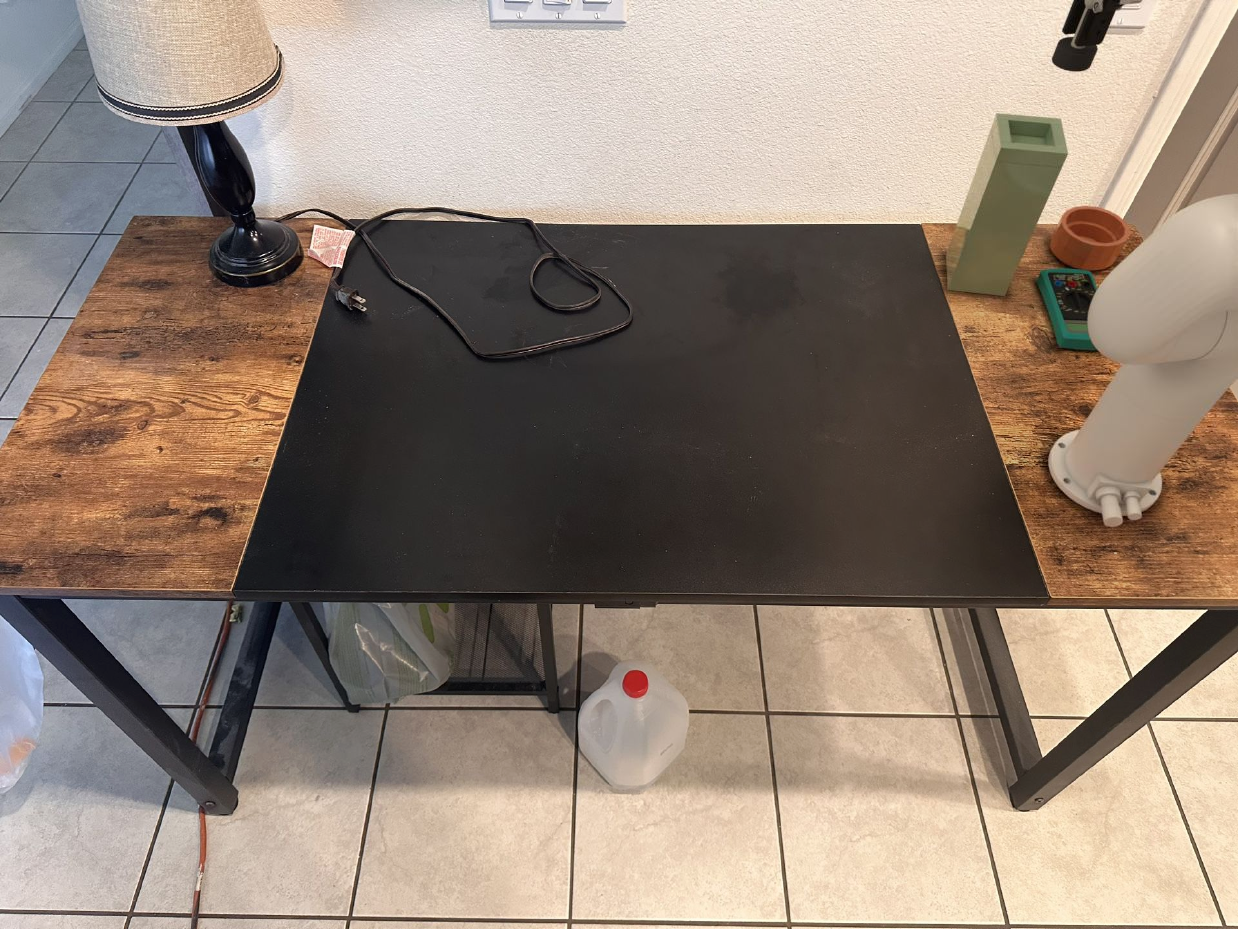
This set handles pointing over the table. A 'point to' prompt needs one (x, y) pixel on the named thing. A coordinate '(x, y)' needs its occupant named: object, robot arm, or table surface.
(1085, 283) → the digital multimeter
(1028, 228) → the green tall hollow block
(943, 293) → the table surface
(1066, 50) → the stopper
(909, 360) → the table surface
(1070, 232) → the basin bowl
